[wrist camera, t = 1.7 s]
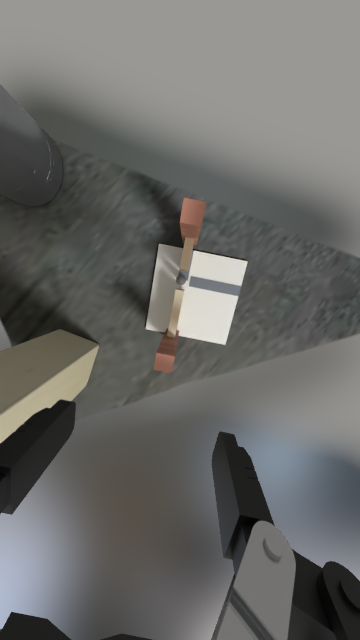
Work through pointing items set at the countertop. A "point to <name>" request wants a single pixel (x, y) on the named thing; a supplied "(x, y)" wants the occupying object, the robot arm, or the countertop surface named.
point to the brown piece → (189, 231)
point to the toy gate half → (170, 337)
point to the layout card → (196, 293)
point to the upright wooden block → (42, 375)
